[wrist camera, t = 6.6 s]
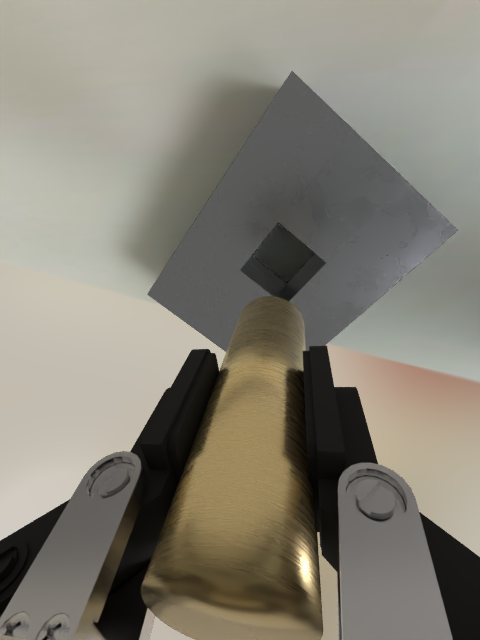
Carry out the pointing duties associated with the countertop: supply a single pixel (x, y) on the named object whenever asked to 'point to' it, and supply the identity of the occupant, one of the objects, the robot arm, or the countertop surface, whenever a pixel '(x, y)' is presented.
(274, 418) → the brass pin
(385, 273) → the block
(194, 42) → the countertop surface
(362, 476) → the robot arm
